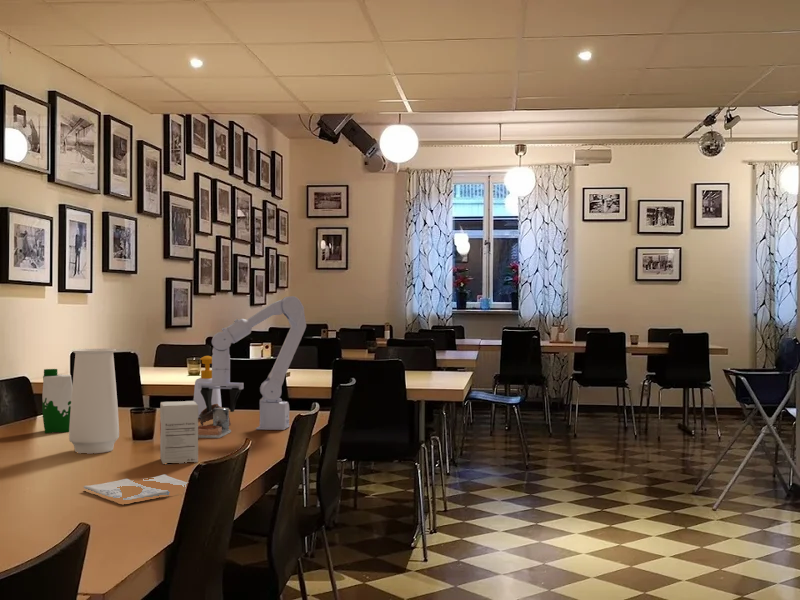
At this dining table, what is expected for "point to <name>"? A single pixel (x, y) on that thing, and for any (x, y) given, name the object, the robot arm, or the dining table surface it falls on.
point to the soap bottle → (206, 377)
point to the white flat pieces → (112, 490)
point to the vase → (94, 402)
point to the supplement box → (178, 432)
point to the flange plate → (211, 431)
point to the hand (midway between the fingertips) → (220, 411)
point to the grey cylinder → (221, 417)
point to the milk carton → (56, 401)
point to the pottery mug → (209, 414)
